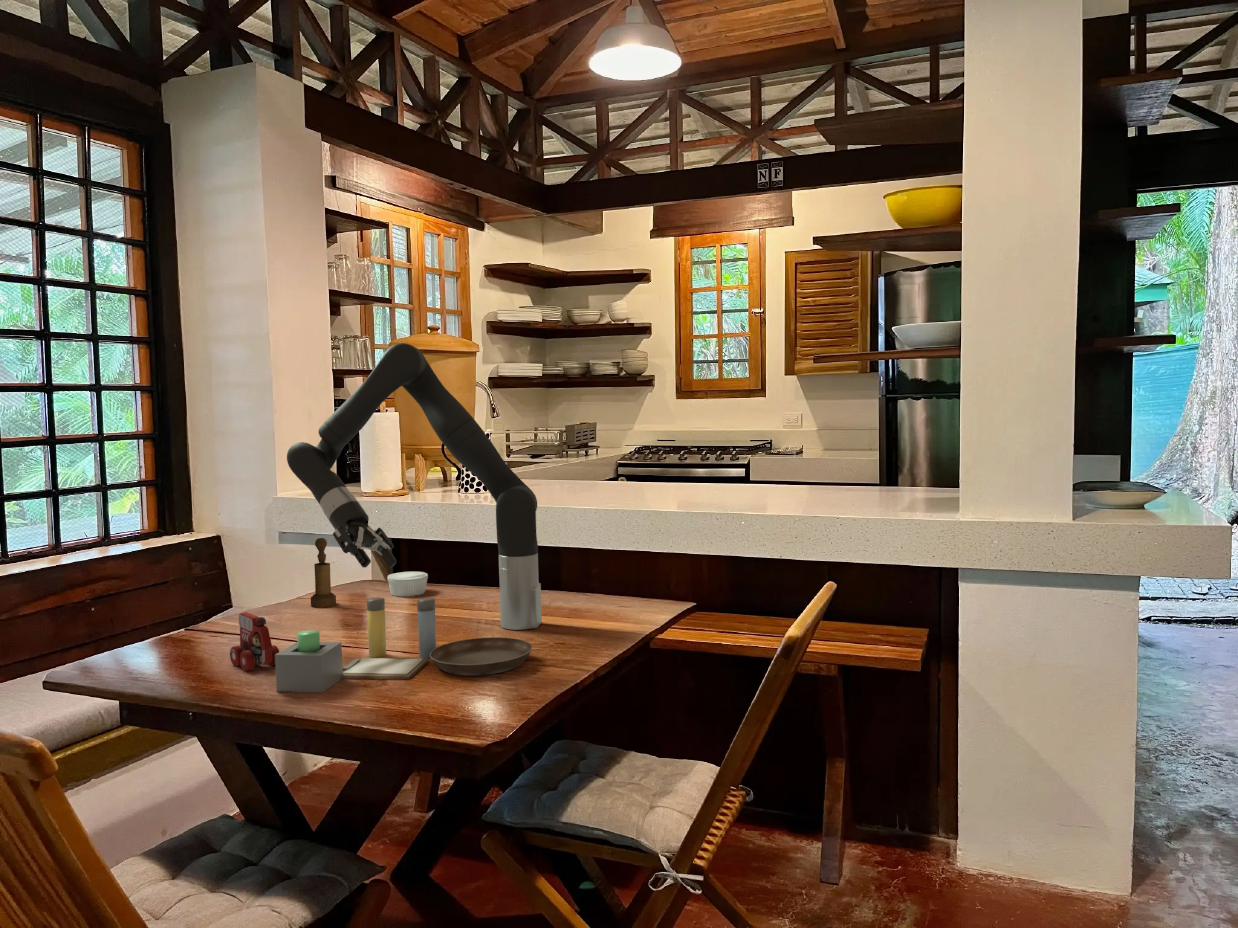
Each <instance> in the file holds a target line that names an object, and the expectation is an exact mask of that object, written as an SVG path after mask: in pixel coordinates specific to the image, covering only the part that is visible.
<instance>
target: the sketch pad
mask: <svg viewBox="0 0 1238 928" xmlns="http://www.w3.org/2000/svg"><path fill="white" fill-rule="evenodd" d="M429 661H430V658H420V657H418V658H416V657H415V658H414V657H413V658H410V657H409V658H408V657H407V658H404V657H379V658H372V657H358V658H357V659H353V660H351V661H350V662H349V663H347V664H346V665H345V666H342V667H343V675H342V679H350V680H351V679H355V680H357V679H358V680H361V679H363V680H365V679H366V680H371V679H372V680H410V679H411V678H412V677H413V676H414V675H416V674H417V673H418V672H419V671H420V670H421V669H422V668H423V667H424V666H425V665H427V664H428V663H429Z"/></svg>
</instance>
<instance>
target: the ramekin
mask: <svg viewBox="0 0 1238 928" xmlns="http://www.w3.org/2000/svg"><path fill="white" fill-rule="evenodd" d="M386 579H387V581H388V585H389V592H390V594H391V595H392V596H393V595H394V597H402V598H405V597H406V598H407V597H408V598H409V597H416V596H415V595H417V596H420V595H421V596H422V595H423V594H425V592H426V589H427V585H428V584H427V583H428V579H429V575H428V573H426V572H424V571H403V572H402V571H401V572H396V573H390V574H388V575H387V578H386Z"/></svg>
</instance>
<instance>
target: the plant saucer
mask: <svg viewBox="0 0 1238 928" xmlns="http://www.w3.org/2000/svg"><path fill="white" fill-rule="evenodd" d="M532 649H533V645H532V644H531V642H528V641H526V640H523V639H518V638H513V637H512V638H511V637H500V636H499V637H493V636H492V637H476V638H475V637H474V638H469V639H462V640H457V641H456V640H455V641H452V642H448V643H445V644H443V645H442V644H441V645H440V646H438V647H437V646H436V648H435V649H434V650H432V651H431V653H430V657H431V658H430V659H431V660H432V662H433V663H434V664H435V666H437V667H438V668H439V669H440V670H442V671H443V672H445V673H448V674H452V675H456V676H465V677H466V676H469V677H470V676H471V677H473V676H474V677H476V676H477V677H478V676H479V677H480V676H488V675H496V673H497V674H500V673H505V672H509V671H511V670H513V669H516V668H517V667H519V666H520V665H522V664H523V663H524V662H525V660H527V659H528V657H529V656H530V654H531V652H532Z"/></svg>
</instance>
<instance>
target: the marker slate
mask: <svg viewBox="0 0 1238 928" xmlns="http://www.w3.org/2000/svg"><path fill="white" fill-rule="evenodd" d="M416 609H417V630H418V631H417V633H418V655H419V656H418V658H423V659H431V657H430V653H431V651H432V650H434V649H435V648H437V629H436V627H437V626H436V598H433V597H423V598H418V599H416Z"/></svg>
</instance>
